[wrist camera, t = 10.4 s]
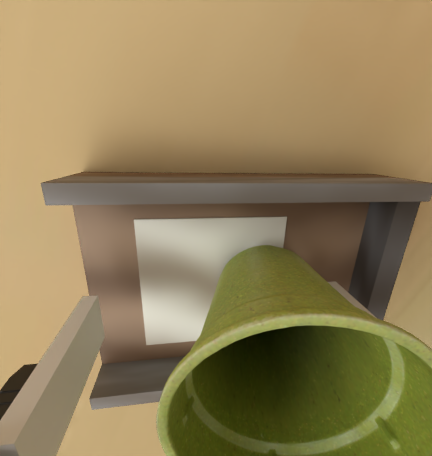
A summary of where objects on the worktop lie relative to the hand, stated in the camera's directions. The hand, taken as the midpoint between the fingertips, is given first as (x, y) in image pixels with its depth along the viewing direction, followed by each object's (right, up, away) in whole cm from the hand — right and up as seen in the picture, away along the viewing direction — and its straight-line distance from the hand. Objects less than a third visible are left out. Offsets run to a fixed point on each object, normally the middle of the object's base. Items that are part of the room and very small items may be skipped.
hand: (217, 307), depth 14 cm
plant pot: (+3, +1, +2) cm, 4 cm away
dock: (+1, +1, +5) cm, 5 cm away
